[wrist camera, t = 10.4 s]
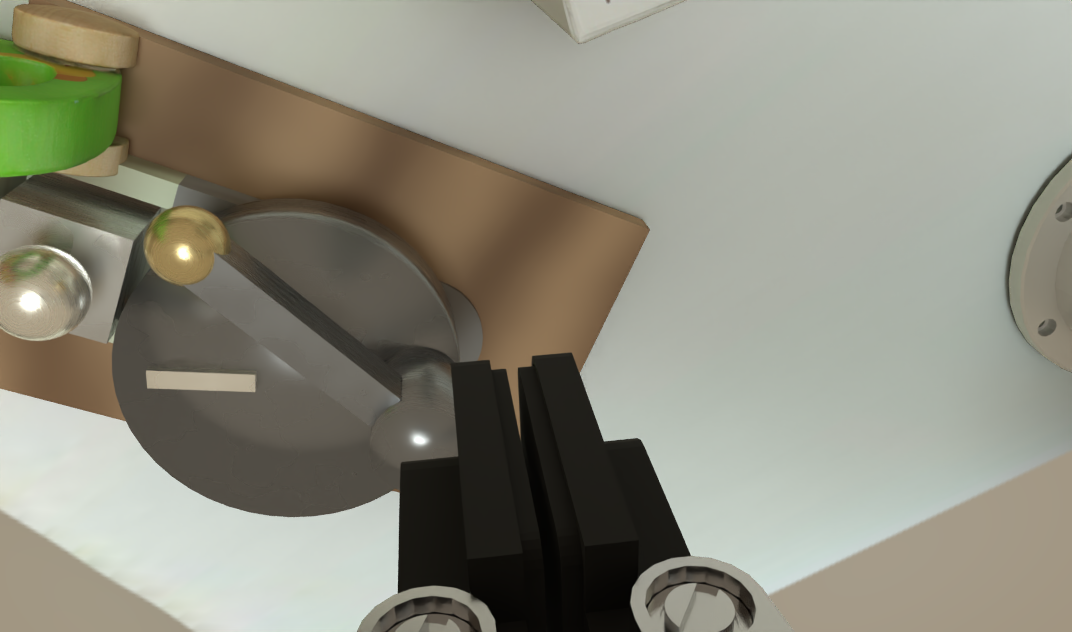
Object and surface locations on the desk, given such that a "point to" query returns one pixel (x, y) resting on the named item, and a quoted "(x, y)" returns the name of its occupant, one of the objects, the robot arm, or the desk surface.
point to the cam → (286, 356)
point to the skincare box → (599, 14)
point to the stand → (358, 184)
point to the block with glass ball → (69, 257)
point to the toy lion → (63, 92)
